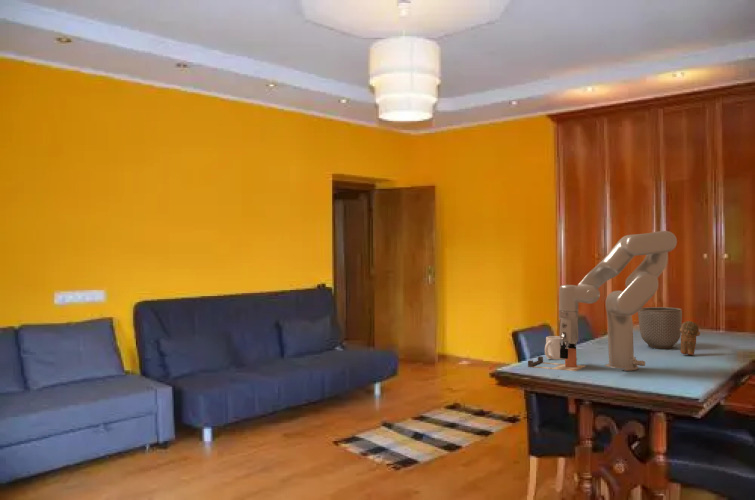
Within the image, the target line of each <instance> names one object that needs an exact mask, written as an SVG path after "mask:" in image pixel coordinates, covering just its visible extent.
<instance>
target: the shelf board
mask: <svg viewBox="0 0 755 500" xmlns="http://www.w3.org/2000/svg"><path fill="white" fill-rule="evenodd" d="M538 364H545V365H555V367H547V366H546V367H545V366H537V365H538ZM585 367H586V365H579V364H577V367H565V363H558V362H557V363H554V362H544V356H537V360H535V361H534V360H528V361H527V368H535V369H536V368H537V369H548V370H560V371H569V372H570V371H571V372H577V371H579V370H581V369H583V368H585Z"/></svg>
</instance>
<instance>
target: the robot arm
mask: <svg viewBox="0 0 755 500" xmlns="http://www.w3.org/2000/svg"><path fill="white" fill-rule="evenodd" d="M677 239H678V238H677V237H676V235H675V234H674V233H673V232H671V231H669V230H660V231H653V232H647V233H637V234H627V235H624V236H622V237H621V238H620V239H619V240H617V242H616V244H615V245H614V246H613V247H611V249H610V250H609V252H608V253H607V254H606V255H605V256H604V258H603V259H602V260H601V261H600V262H599V263H598V264H596V265H595V267H593V268H592V269H591V270H590V271H588V273H587V274H586V275H585V276H584V277H583V279H582V280H581V281H580V282H579V283H578V284H576V285H575V284H562V285H560V286H559V291H558V292H559V293H558V294H559V295H558V296H559V297H558V298H559V299H558V300H559V302H558V303H559V304H558V319H559V320H560V323H559V336H560V358H563V359H562V360H565V359H568V349H567V348H572V349H576V350H577V343H578V342H579V324H578V320H579V303H581V304H582V303H583V304H588V305H589V304H595V303H596V302H598V300H599V299H600V297H601V292H600V290H599V289H600V288H601V287H602V286H603V285H604V284H606V282H608V281H610V280H611V279H613V278H616V277H618V276H619V274H621V272H622V271H623V270H624V269H625V268H626V267H627V265H628V264H629V263H630V262H631V261H632V260H633V259H634V257H637V256H645V257H644V259H643V260H642V261H641V263H640V264H639V265H637V267H636V268H635V269H634V270H633V271H632V272H631V273H630V274H629V275H628V276H627V277H626V279H625V282H624V283H625V289H624V290H613V291H611V292H610V293H609V294H608V295H607V296H606V298H605V310H606V319H607V320H606V321H607V343H608V346H607V347H608V363H607V364H605V365H604V366H605V367H608V368H612V369H613V368H615V369H623V370H622V371H621V372H628V371H629V372H630V371H631V372H633V371H637V370H639V367H641V366H642V367H646V361H645V360H638V359H637V357H636V356H635V355H634V354H635V353H634V352H635V351H634V324H633V317H632V316H633V315H636V314H638V311H639V310H640V309H641V308H644V306H645V305H646V304H647V303H648V301H649V300H651V298H652V297H653V296H655V294H656V292H657V290H658V289H659V280H658V278H659V277H660V275H662V273H663V272H664V271H665V269H666V267H667V265H668V262H669V261H668V260H669V256H668V253H669V252H672V251H674V249H676V246H677V243H678V240H677ZM565 344H566V345H565Z"/></svg>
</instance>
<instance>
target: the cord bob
mask: <svg viewBox="0 0 755 500" xmlns="http://www.w3.org/2000/svg"><path fill="white" fill-rule="evenodd" d="M567 349H568V359H564V364H565V367H577V365H578V364H577V363H578V362H577V348H576V349H572V348H567Z"/></svg>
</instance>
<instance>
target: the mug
mask: <svg viewBox="0 0 755 500" xmlns="http://www.w3.org/2000/svg"><path fill="white" fill-rule="evenodd" d="M565 345H566V344H565ZM544 355H545V356H546V359H549V360H564V359H563V358H560V335H559V336H558V335H549V336H546V337H545V344H544Z"/></svg>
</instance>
